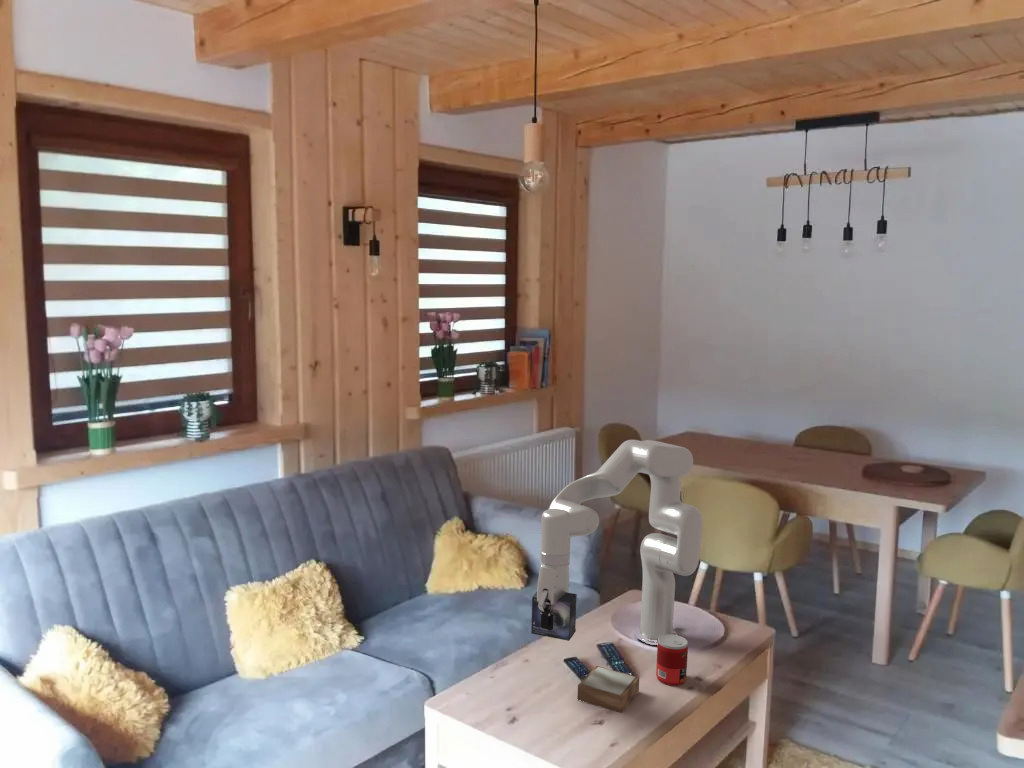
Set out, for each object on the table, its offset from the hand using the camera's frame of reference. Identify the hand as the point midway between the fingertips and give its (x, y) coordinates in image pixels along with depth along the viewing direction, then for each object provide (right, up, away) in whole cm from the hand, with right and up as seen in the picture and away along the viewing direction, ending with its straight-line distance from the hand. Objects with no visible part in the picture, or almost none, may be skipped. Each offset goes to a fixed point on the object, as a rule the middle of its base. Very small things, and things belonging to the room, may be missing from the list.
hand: (553, 622), depth 219 cm
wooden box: (+14, -18, -2) cm, 23 cm away
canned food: (+32, -17, +7) cm, 37 cm away
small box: (0, -3, 0) cm, 3 cm away
